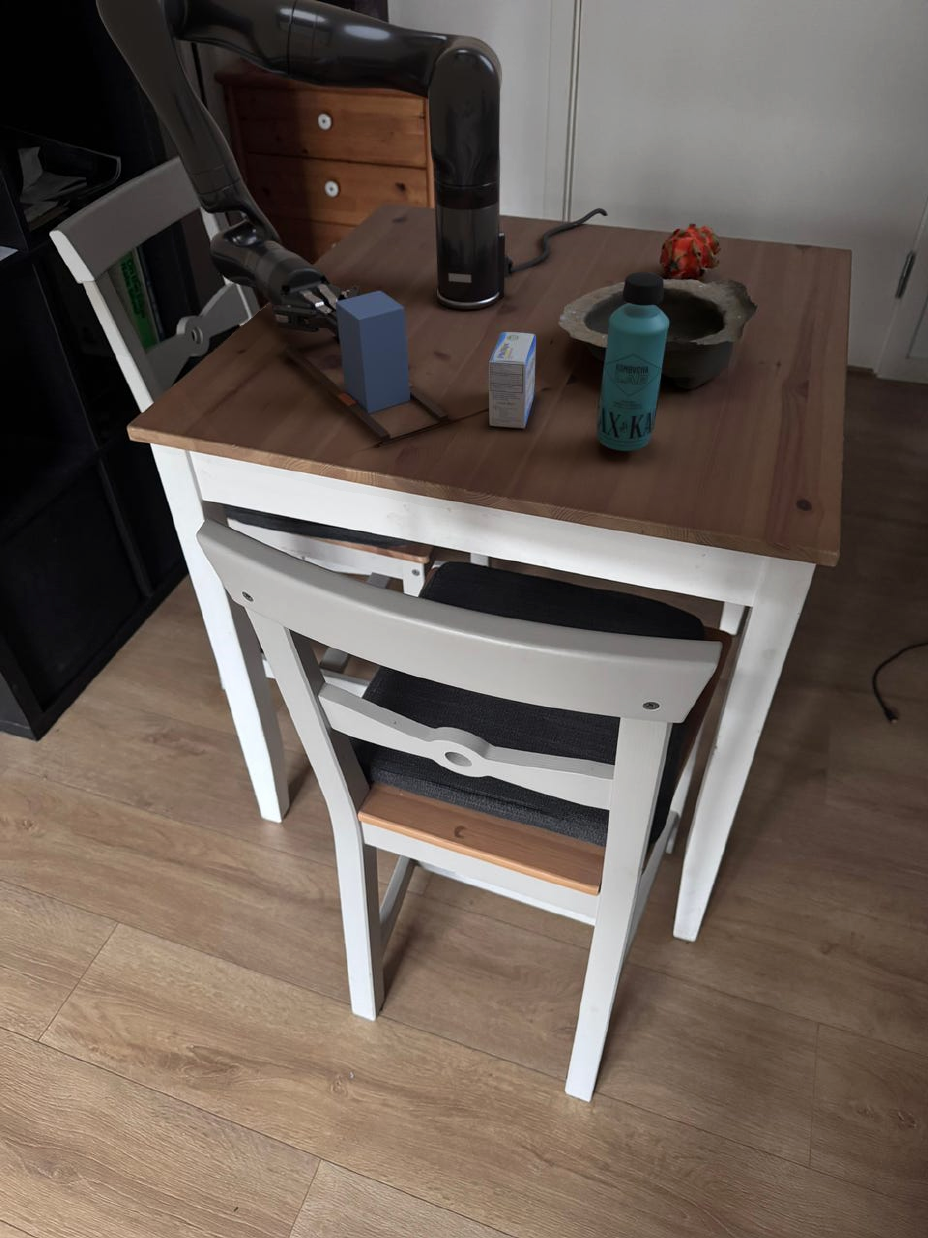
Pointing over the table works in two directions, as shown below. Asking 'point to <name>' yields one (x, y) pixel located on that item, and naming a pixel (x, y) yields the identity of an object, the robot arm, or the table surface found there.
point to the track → (358, 411)
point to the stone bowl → (673, 325)
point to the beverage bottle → (633, 365)
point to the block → (374, 350)
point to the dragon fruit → (690, 253)
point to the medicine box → (512, 379)
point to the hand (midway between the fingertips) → (349, 330)
